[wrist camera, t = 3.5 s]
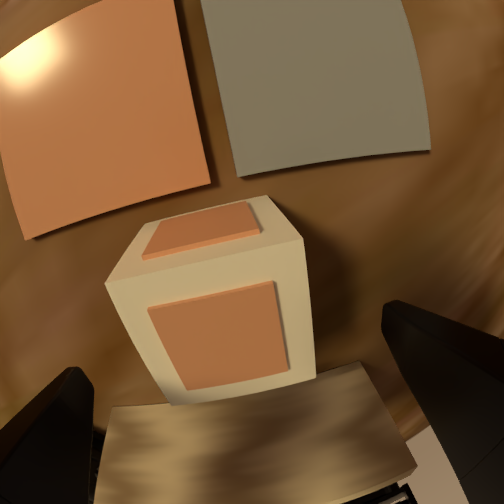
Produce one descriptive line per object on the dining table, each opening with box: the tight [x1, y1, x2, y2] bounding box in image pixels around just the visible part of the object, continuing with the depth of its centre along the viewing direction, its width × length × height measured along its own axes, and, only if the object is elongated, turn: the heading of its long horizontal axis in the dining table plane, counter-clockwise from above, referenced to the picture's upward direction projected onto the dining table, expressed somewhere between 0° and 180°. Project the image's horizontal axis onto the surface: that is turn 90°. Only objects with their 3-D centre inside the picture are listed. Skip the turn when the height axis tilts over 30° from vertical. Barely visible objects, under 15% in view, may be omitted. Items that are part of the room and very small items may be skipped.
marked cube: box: [105, 195, 316, 406], centre depth 10 cm, size 5×5×5 cm
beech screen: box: [94, 361, 417, 504], centre depth 13 cm, size 16×4×8 cm, turn 101°
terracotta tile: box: [0, 0, 211, 241], centre depth 8 cm, size 9×9×1 cm
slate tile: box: [200, 0, 431, 177], centre depth 9 cm, size 9×9×1 cm
